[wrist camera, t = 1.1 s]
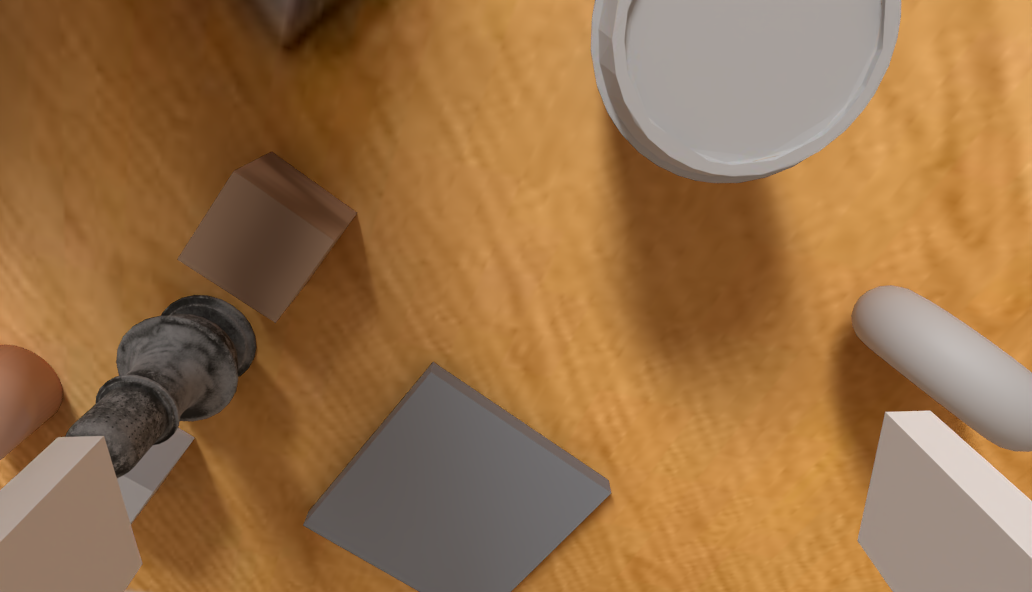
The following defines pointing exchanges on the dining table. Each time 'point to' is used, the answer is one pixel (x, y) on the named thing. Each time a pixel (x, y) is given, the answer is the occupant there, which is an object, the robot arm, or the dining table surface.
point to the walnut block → (266, 234)
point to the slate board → (456, 493)
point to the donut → (949, 363)
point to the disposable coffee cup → (738, 78)
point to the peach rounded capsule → (25, 395)
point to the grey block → (151, 472)
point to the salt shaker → (169, 377)
